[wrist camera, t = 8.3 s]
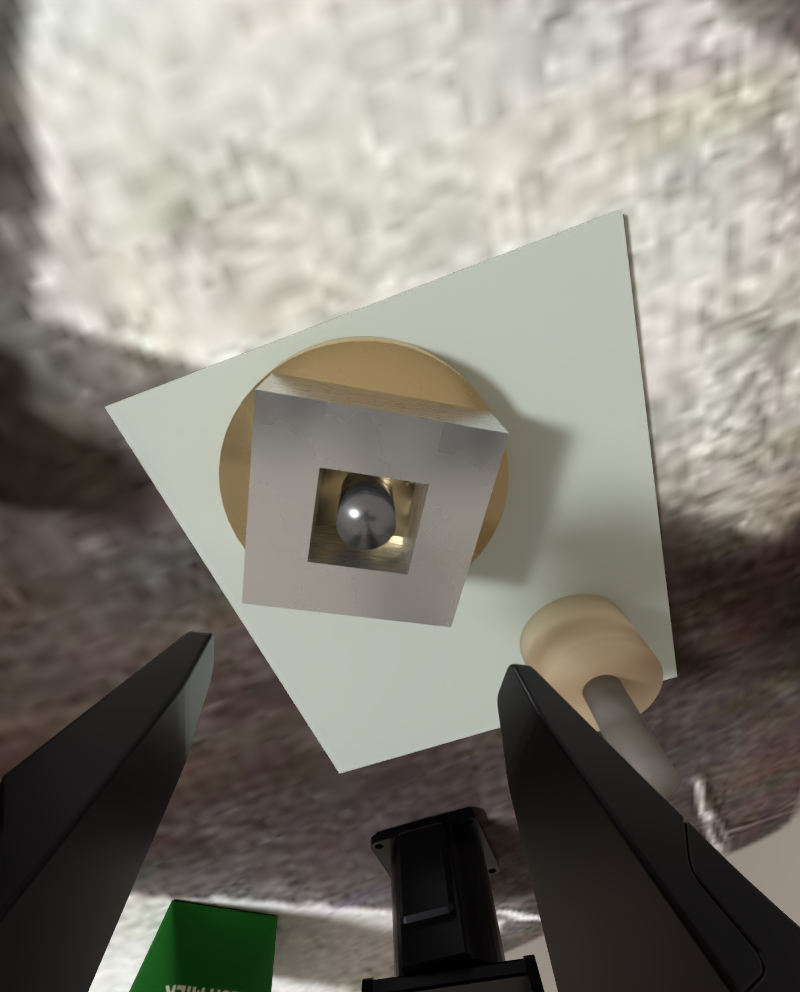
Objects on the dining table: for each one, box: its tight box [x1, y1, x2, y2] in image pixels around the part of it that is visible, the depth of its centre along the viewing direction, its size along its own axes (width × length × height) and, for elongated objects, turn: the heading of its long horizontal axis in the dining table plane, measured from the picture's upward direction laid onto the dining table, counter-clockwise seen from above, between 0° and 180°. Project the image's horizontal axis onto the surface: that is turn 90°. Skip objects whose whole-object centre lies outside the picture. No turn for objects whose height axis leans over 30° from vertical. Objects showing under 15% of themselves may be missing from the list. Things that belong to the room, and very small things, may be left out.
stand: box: [520, 594, 681, 799], centre depth 19 cm, size 5×5×7 cm
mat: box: [105, 209, 677, 774], centre depth 20 cm, size 21×18×1 cm
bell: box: [219, 336, 509, 565], centre depth 16 cm, size 10×10×4 cm
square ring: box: [242, 373, 509, 627], centre depth 15 cm, size 7×7×2 cm
